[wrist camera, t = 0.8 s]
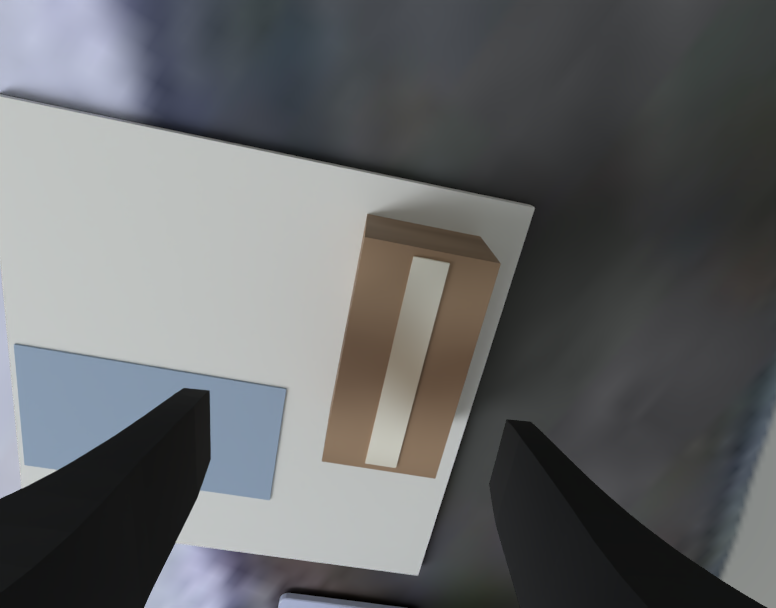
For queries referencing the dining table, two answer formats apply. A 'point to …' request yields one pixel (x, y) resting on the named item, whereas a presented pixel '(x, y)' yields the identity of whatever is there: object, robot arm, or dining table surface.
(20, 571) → the robot arm
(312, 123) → the dining table surface
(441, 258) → the cardboard box
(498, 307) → the mat
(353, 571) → the dining table surface
